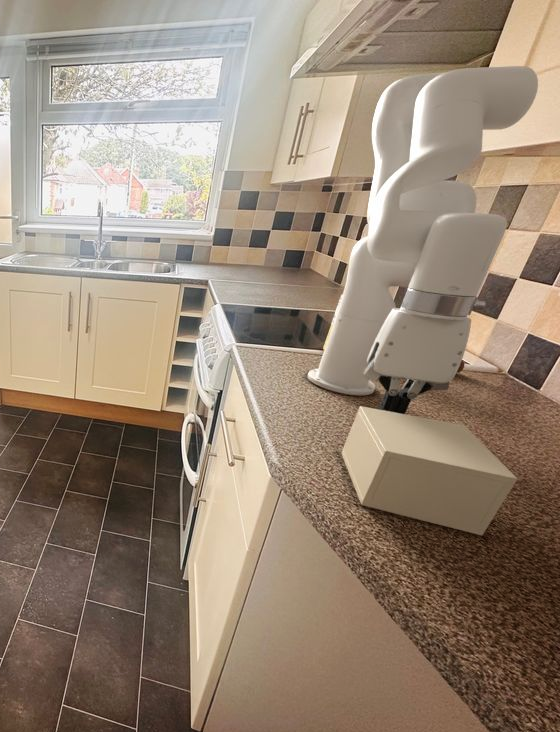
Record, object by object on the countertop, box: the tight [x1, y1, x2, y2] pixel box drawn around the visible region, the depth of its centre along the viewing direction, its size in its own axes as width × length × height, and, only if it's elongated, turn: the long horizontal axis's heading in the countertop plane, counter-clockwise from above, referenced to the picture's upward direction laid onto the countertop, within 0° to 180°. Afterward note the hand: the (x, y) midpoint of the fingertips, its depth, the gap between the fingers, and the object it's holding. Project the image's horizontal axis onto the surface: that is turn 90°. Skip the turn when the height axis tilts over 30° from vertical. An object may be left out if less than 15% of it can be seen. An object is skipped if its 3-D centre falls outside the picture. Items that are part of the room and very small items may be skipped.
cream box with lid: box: [340, 405, 518, 536], centre depth 57 cm, size 14×13×9 cm
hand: (389, 416), depth 68 cm, fingers closed
